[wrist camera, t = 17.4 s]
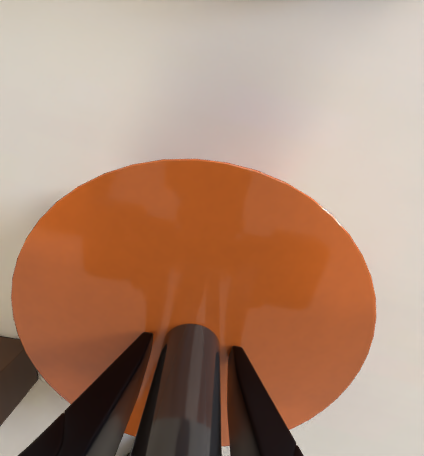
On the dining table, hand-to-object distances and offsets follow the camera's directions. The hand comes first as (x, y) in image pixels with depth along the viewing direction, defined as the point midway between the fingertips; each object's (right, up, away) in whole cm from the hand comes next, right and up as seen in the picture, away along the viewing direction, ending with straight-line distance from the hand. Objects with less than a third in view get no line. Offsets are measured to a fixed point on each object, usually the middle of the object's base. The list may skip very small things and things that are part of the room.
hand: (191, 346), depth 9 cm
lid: (0, 0, +1) cm, 1 cm away
